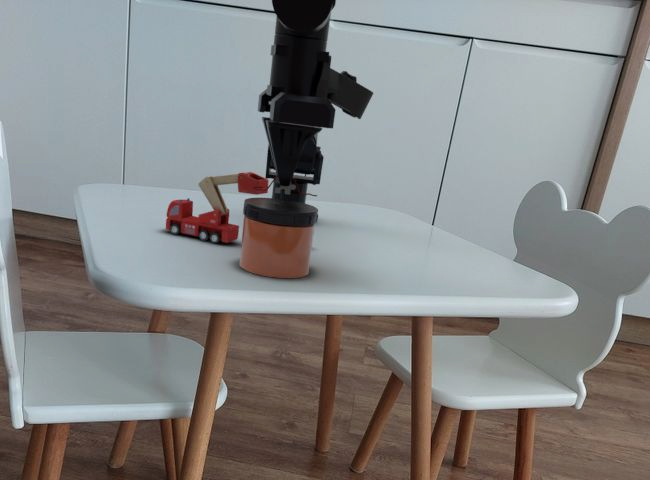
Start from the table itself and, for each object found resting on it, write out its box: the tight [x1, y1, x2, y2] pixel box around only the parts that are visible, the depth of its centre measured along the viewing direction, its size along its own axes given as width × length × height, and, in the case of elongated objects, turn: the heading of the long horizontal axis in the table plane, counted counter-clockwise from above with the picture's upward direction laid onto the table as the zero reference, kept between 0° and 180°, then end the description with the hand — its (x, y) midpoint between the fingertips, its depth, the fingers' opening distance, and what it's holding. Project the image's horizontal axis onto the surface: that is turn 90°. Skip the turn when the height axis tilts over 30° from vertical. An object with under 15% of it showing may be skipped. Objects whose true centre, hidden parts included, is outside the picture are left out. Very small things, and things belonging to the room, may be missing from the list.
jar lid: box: [242, 197, 319, 226], centre depth 80 cm, size 9×9×2 cm
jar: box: [239, 214, 316, 279], centre depth 81 cm, size 8×8×7 cm
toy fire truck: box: [165, 171, 269, 244], centre depth 91 cm, size 3×14×10 cm, turn 68°
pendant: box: [252, 175, 318, 197], centre depth 80 cm, size 8×4×3 cm, turn 85°
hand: (284, 184), depth 79 cm, fingers closed on pendant
